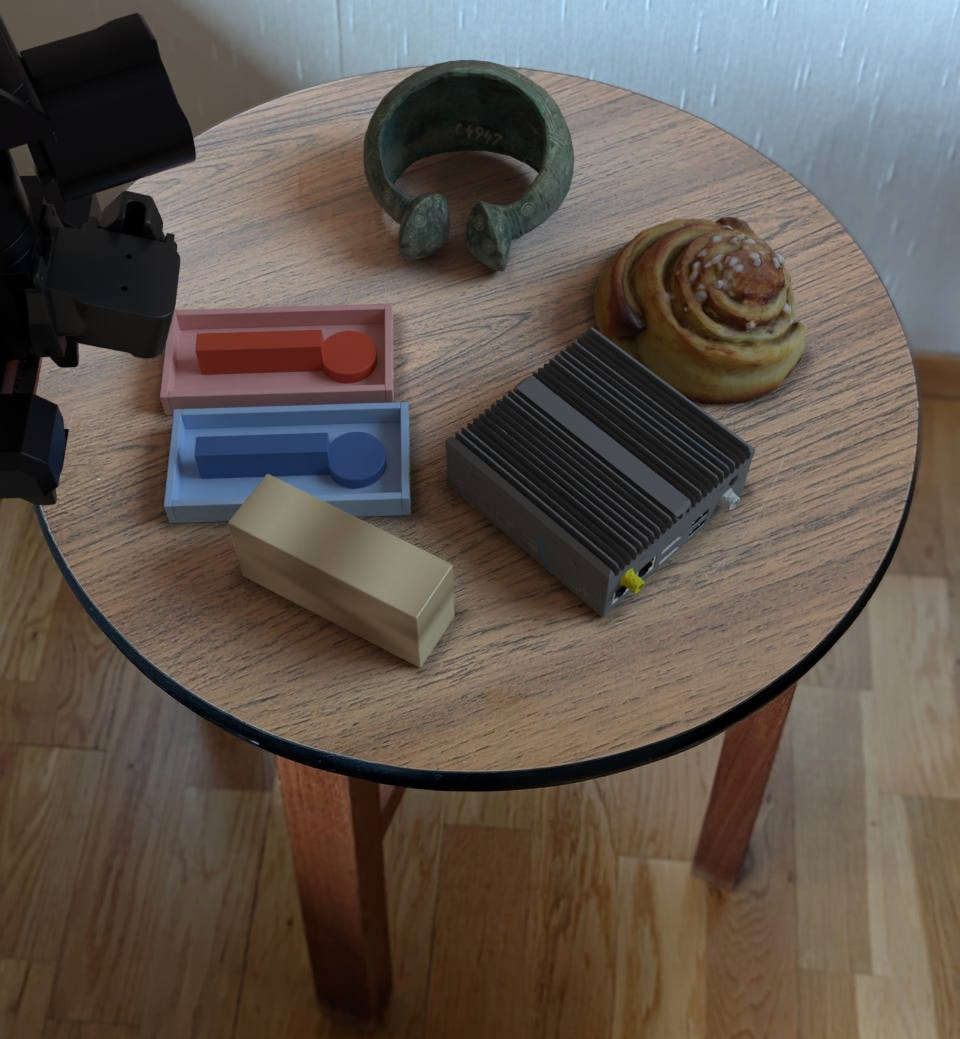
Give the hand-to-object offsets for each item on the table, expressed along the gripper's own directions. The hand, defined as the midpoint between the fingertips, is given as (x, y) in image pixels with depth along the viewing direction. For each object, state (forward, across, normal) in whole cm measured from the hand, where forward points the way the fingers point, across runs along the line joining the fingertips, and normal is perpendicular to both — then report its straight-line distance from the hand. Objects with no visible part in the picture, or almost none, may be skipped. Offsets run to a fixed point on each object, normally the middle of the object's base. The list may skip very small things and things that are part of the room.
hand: (58, 431), depth 72 cm
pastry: (+12, +17, -38) cm, 44 cm away
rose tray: (+12, +14, -10) cm, 21 cm away
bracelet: (+12, +28, -23) cm, 39 cm away
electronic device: (+12, +3, -30) cm, 33 cm away
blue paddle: (+12, +5, -11) cm, 17 cm away
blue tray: (+12, +6, -11) cm, 17 cm away
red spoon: (+12, +14, -11) cm, 21 cm away
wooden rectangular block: (+12, -4, -15) cm, 19 cm away
